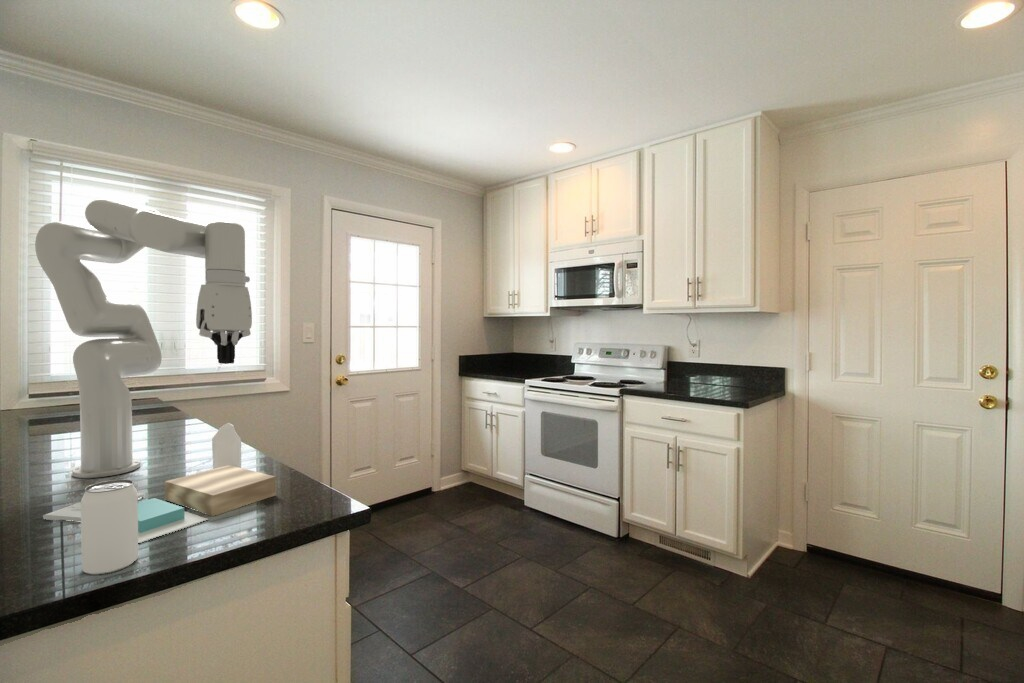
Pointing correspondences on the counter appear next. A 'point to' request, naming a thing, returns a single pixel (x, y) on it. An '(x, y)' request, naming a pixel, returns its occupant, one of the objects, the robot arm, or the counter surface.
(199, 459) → the counter surface
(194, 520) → the mat
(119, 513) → the can
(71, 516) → the external hard drive
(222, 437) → the white tall lump
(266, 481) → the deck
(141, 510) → the teal sticky note pad
